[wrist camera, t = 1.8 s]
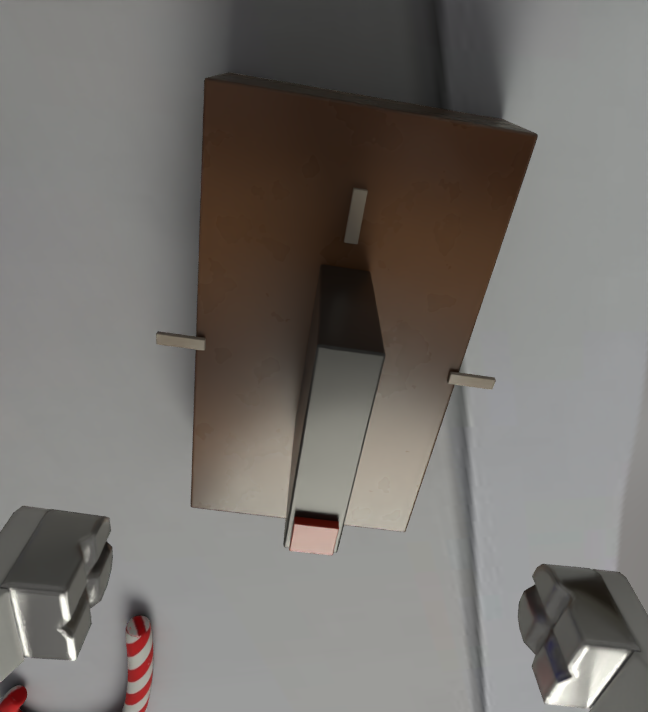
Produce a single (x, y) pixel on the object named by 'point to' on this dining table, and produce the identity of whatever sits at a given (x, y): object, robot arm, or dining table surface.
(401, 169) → the control panel
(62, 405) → the dining table surface
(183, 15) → the dining table surface
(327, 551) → the red-tipped grey bar
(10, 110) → the dining table surface
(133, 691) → the candy cane
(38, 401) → the dining table surface
